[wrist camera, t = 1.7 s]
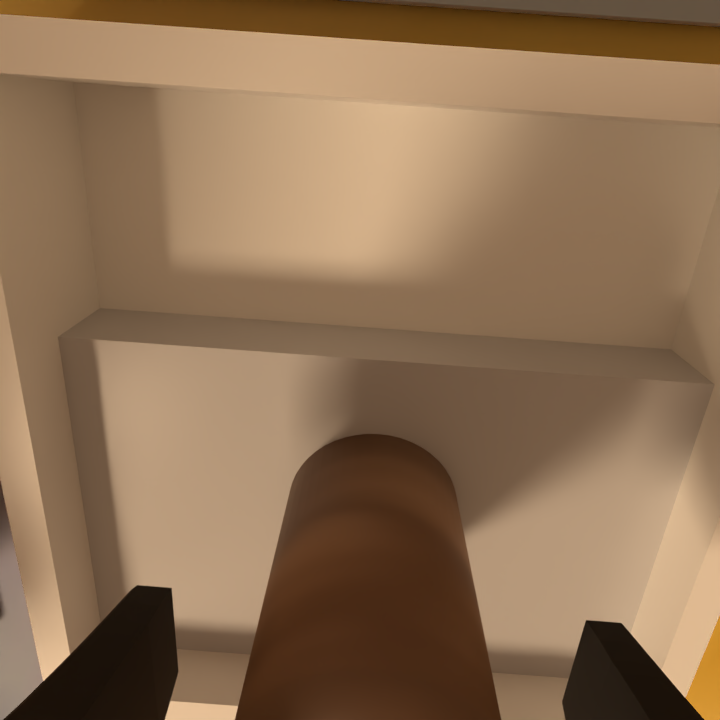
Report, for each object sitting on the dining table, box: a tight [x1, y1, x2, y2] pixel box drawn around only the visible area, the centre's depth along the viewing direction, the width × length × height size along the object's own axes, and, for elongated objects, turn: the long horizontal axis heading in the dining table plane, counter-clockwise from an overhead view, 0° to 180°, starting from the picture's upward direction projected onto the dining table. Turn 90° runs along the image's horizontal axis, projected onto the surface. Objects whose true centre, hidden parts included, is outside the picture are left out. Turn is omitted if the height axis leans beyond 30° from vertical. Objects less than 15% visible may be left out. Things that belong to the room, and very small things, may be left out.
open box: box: [0, 14, 720, 720], centre depth 14 cm, size 16×16×4 cm
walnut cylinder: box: [235, 434, 501, 720], centre depth 11 cm, size 4×4×6 cm
